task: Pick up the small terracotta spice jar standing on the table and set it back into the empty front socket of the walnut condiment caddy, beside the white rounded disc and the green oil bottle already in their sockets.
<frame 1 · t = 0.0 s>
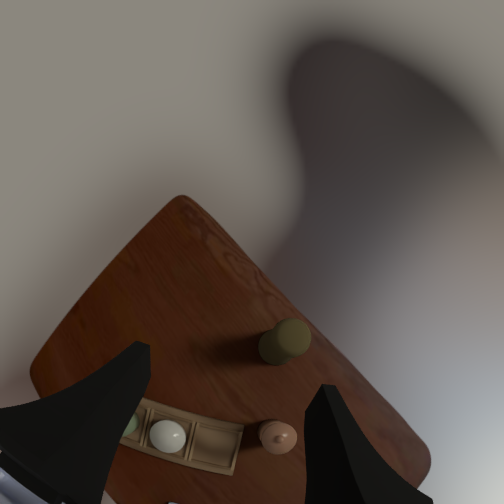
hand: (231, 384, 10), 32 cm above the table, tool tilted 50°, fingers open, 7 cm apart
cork: (276, 347, 43), on the table
white rounded disc: (169, 434, 33), point 1 cm above the table, touching caddy
spice jar: (271, 431, 36), on the table
oil bottle: (126, 419, 33), point 1 cm above the table, touching caddy
caddy: (170, 433, 34), on the table
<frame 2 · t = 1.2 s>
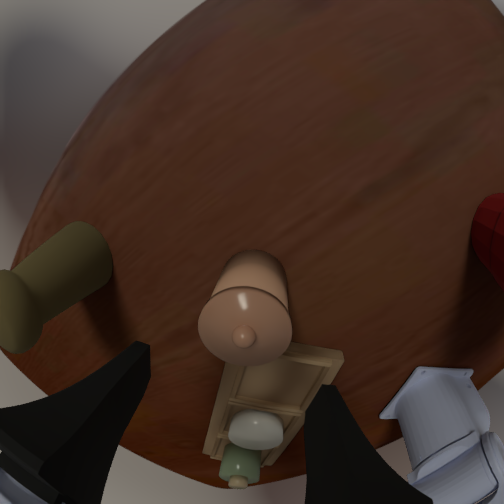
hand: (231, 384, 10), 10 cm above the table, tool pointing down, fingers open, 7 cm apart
plastic cup: (490, 229, 16), on the table
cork: (85, 255, 20), on the table
white rounded disc: (257, 422, 24), point 1 cm above the table, touching caddy
spice jar: (253, 280, 19), on the table
oil bottle: (242, 450, 26), point 1 cm above the table, touching caddy
caddy: (258, 413, 25), on the table
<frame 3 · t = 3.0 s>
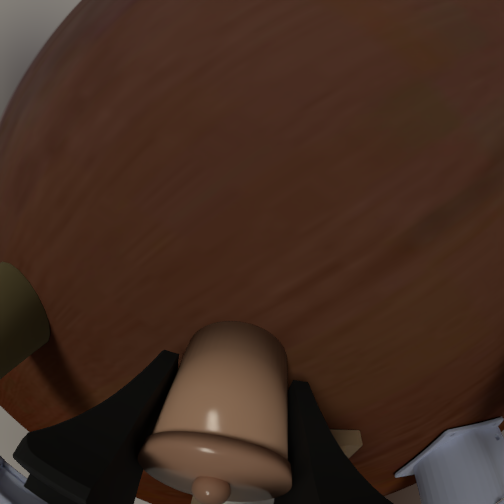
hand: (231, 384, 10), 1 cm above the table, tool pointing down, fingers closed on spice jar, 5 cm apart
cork: (20, 304, 13), on the table
white rounded disc: (249, 492, 16), point 1 cm above the table, touching caddy
spice jar: (236, 361, 12), on the table, touching gripper
caddy: (251, 481, 17), on the table
when the fingers open (3 cm above the table, at t = 6.3 s): spice jar stays where it is, resting on caddy.
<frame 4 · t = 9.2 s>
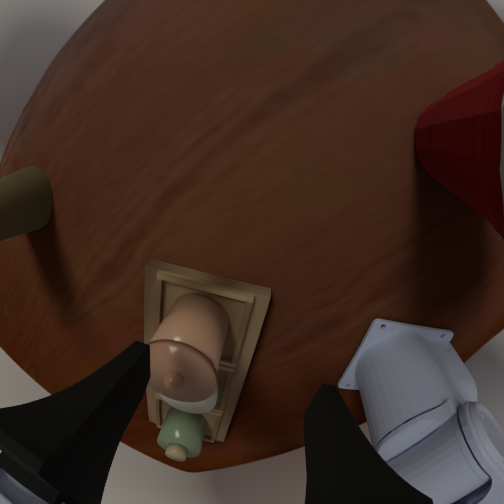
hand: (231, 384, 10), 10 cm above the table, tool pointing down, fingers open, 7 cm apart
plastic cup: (443, 146, 15), on the table
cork: (34, 197, 19), on the table
white rounded disc: (191, 380, 23), point 1 cm above the table, touching caddy
spice jar: (199, 319, 20), point 1 cm above the table, touching caddy
oil bottle: (187, 418, 25), point 1 cm above the table, touching caddy
caddy: (194, 371, 24), on the table
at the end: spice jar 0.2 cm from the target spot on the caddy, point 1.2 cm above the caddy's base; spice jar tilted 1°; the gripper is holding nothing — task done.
